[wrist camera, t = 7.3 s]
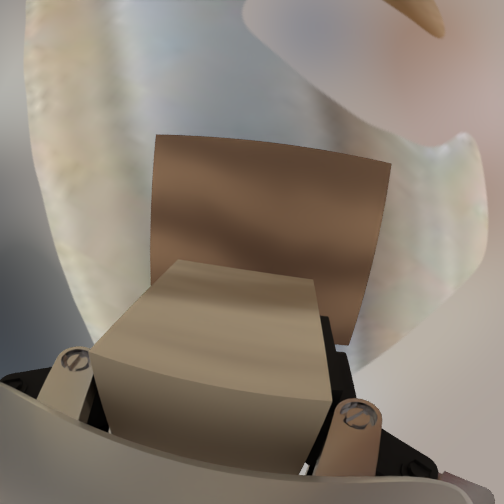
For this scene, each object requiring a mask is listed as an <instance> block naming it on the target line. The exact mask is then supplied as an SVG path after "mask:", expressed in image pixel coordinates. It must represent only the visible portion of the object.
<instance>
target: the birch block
mask: <svg viewBox="0 0 504 504" xmlns="http://www.w3.org/2000/svg"><path fill="white" fill-rule="evenodd" d="M88 353H89V357H90V362H91V366H92V370H93V374H94V378H95V382H96V385H97V389H98V392H99V396H100V399H101V403H102V406H103V409H104V412H105V416H106V419H107V422H108V425H109V428H110V430H111V433H112V435H115V436H118V437H120V438H123V439H126V440H129V441H132V442H135V443H138V444H141V445H144V446H147V447H150V448H153V449H157V450H160V451H163V452H167V453H171V454H174V455H178V456H182V457H186V458H190V459H194V460H198V461H203V462H208V463H212V464H217V465H223V466H228V467H234V468H240V469H246V470H253V471H261V472H269V473H279V474H291V475H299V473H300V471H301V469H302V467H303V465H304V463H305V461H306V459H307V457H308V455H309V453H310V451H311V449H312V447H313V445H314V442H315V440H316V438H317V436H318V434H319V431H320V429H321V427H322V425H323V422H324V420H325V418H326V415H327V413H328V411H329V408H330V406H331V403H332V394H331V386H330V379H329V372H328V365H327V358H326V352H325V345H324V339H323V333H322V326H321V321H320V315H319V309H318V303H317V297H316V292H315V286H314V281H313V280H312V279H305V278H298V277H291V276H284V275H277V274H270V273H263V272H256V271H250V270H243V269H236V268H230V267H223V266H217V265H210V264H204V263H197V262H191V261H185V260H177V261H176V262H175V263H174V264H173V265H172V266H171V267H170V268H169V269H168V270H167V271H166V272H165V273H164V274H163V275H162V276H161V277H160V278H159V279H158V280H157V281H156V282H155V283H154V284H153V285H152V286H151V287H150V288H149V289H148V290H147V291H146V292H145V293H144V294H143V295H142V296H141V297H140V298H139V299H138V300H137V301H136V302H135V303H134V304H133V305H132V306H131V307H130V308H129V309H128V310H127V311H126V312H125V313H124V314H123V315H122V316H121V317H120V318H119V319H118V320H117V321H116V322H115V323H114V325H113V326H112V327H111V328H110V329H109V330H108V331H107V332H106V333H105V334H104V335H103V336H102V337H101V338H100V339H99V340H98V341H97V342H96V344H95V345H94V346H93V347H92V348H91V349H90V350H89V351H88Z"/></svg>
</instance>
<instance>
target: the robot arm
mask: <svg viewBox="0 0 504 504" xmlns="http://www.w3.org/2000/svg"><path fill="white" fill-rule="evenodd" d="M320 321H321V326H322V333H323V339H324V345H325V352H326V358H327V365H328V372H329V379H330V386H331V394H332V403H331V406H330V408H329V411H328V413H327V415H326V418H325V420H324V422H323V425H322V427H321V429H320V431H319V434H318V436H317V438H316V440H315V442H314V445H313V447H312V449H311V451H310V453H309V455H308V457H307V459H306V461H305V463H307V464H308V465H309V466H308V468H307V471H306V473H305V475H291V474H279V473H269V472H261V471H253V470H246V469H240V468H234V467H228V466H223V465H217V464H212V463H208V462H203V461H198V460H194V459H190V458H186V457H182V456H178V455H174V454H171V453H167V452H163V451H160V450H157V449H153V448H150V447H147V446H144V445H141V444H138V443H135V442H132V441H129V440H126V439H123V438H120V437H118V436H115V435H112V433H111V430H110V428H109V425H108V422H107V419H106V416H105V412H104V409H103V406H102V403H101V399H100V396H99V392H98V389H97V385H96V382H95V378H94V374H93V370H92V366H91V362H90V357H89V353H88V351H89V350H90V348H87V347H79V346H78V347H71V348H68V349H66V350H64V351H63V352H61V353H60V354H59V356H58V357H57V359H56V361H55V363H54V365H53V367H49V368H43V369H38V370H31V371H26V372H20V373H13V374H9V375H6V376H5V377H3V378H2V379H1V380H0V504H495V499H494V495H493V494H492V492H491V491H490V490H489V489H487V488H485V487H482V486H480V485H477V484H475V483H472V482H470V481H467V480H465V479H462V478H460V477H457V476H455V475H453V474H450V473H448V472H446V471H444V472H443V473H442V474H441V473H439V472H438V469H437V466H436V464H435V463H434V462H433V461H432V460H431V459H430V458H428V457H427V456H425V455H424V454H422V453H420V452H419V451H417V450H415V449H414V448H412V447H410V446H409V445H407V444H406V443H404V442H402V441H401V440H399V439H398V438H396V437H394V436H393V435H391V434H390V433H388V432H386V431H385V430H383V429H382V414H381V412H380V411H379V409H378V408H377V407H376V406H375V405H374V404H372V403H370V402H369V401H366V400H363V399H357V398H356V393H355V389H354V384H353V380H352V376H351V371H350V367H349V363H348V359H347V355H346V353H345V352H336V349H335V344H334V339H333V335H332V330H331V325H330V321H329V317H328V316H320Z"/></svg>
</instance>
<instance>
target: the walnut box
mask: <svg viewBox="0 0 504 504" xmlns="http://www.w3.org/2000/svg"><path fill="white" fill-rule="evenodd" d="M390 170H391V164H390V163H386V162H382V161H377V160H373V159H368V158H363V157H358V156H353V155H348V154H343V153H337V152H332V151H326V150H320V149H314V148H307V147H300V146H294V145H286V144H279V143H270V142H262V141H253V140H243V139H231V138H219V137H204V136H185V135H156V140H155V152H154V165H153V180H152V200H151V239H150V264H151V286H152V285H153V284H154V283H155V282H156V281H157V280H158V279H159V278H160V277H161V276H162V275H163V274H164V273H165V272H166V271H167V270H168V269H169V268H170V267H171V266H172V265H173V264H174V263H175V262H176V261H177V260H185V261H191V262H197V263H204V264H210V265H217V266H223V267H230V268H236V269H243V270H250V271H256V272H263V273H270V274H277V275H284V276H291V277H298V278H305V279H312V280H313V281H314V286H315V292H316V297H317V303H318V309H319V315H320V316H328V317H329V321H330V325H331V330H332V335H333V339H334V344H338V345H349V343H350V340H351V337H352V333H353V330H354V327H355V324H356V321H357V317H358V314H359V311H360V307H361V304H362V300H363V297H364V293H365V289H366V286H367V282H368V278H369V274H370V270H371V266H372V262H373V258H374V254H375V249H376V245H377V240H378V236H379V231H380V226H381V221H382V216H383V211H384V206H385V201H386V195H387V189H388V183H389V177H390Z"/></svg>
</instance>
